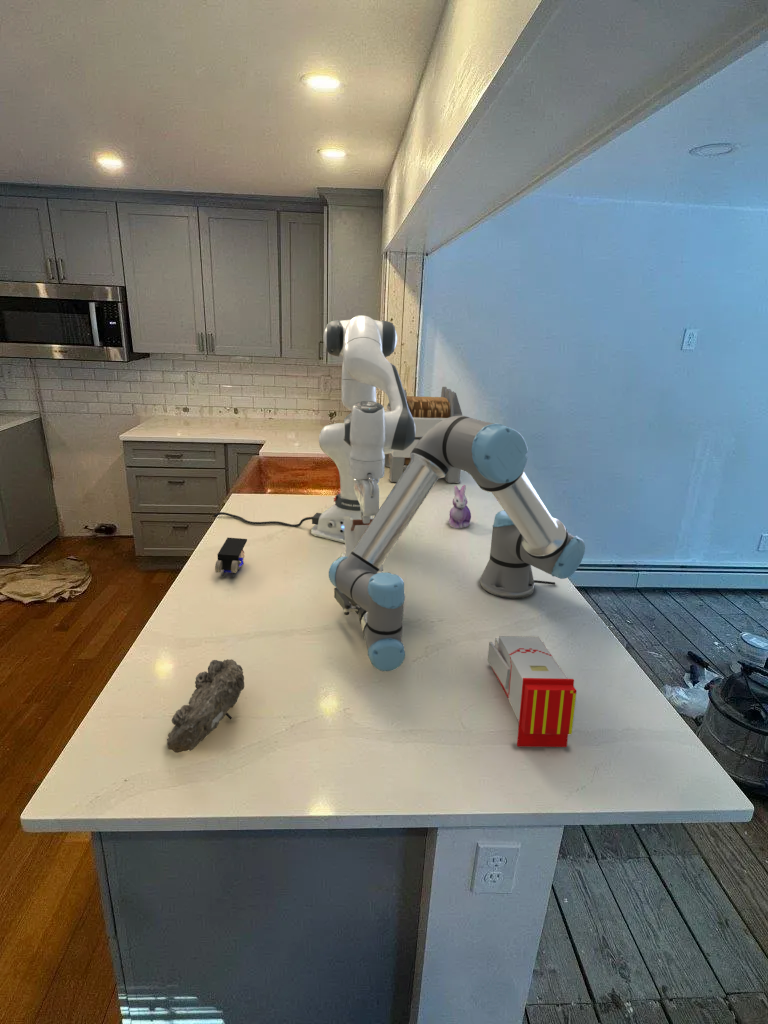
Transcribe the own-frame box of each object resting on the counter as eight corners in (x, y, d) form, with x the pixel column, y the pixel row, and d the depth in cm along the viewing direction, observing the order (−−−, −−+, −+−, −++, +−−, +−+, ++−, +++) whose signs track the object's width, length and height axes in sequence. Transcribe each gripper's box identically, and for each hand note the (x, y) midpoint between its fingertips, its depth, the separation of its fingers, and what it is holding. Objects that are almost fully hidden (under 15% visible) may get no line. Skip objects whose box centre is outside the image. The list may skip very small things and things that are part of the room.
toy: (536, 619, 129) (586, 686, 99) (531, 673, 131) (578, 754, 102) (483, 618, 128) (517, 685, 99) (479, 672, 131) (511, 753, 102)
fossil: (192, 660, 117) (244, 628, 112) (224, 691, 120) (276, 661, 115) (142, 746, 98) (202, 712, 93) (182, 779, 101) (242, 748, 96)
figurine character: (238, 584, 162) (249, 557, 175) (236, 562, 158) (247, 536, 172) (215, 584, 161) (227, 556, 175) (212, 561, 158) (225, 535, 171)
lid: (343, 520, 152) (346, 511, 145) (378, 520, 154) (383, 510, 147) (346, 572, 147) (349, 565, 140) (382, 571, 149) (387, 564, 142)
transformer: (382, 463, 289) (386, 382, 275) (445, 464, 293) (451, 384, 279) (390, 482, 257) (394, 392, 243) (460, 483, 261) (468, 394, 247)
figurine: (456, 530, 205) (460, 491, 199) (441, 521, 213) (444, 483, 208) (477, 527, 209) (481, 488, 204) (461, 518, 217) (465, 480, 212)
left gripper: (386, 480, 132) (384, 535, 136) (373, 458, 151) (371, 507, 155) (359, 480, 131) (358, 536, 135) (349, 458, 150) (348, 508, 154)
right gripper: (328, 637, 130) (321, 591, 151) (422, 632, 134) (402, 588, 155) (328, 609, 128) (321, 566, 148) (424, 604, 132) (404, 563, 152)
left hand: (365, 520), depth 145 cm, fingers closed on lid
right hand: (363, 577), depth 152 cm, fingers closed on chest, 9 cm apart
